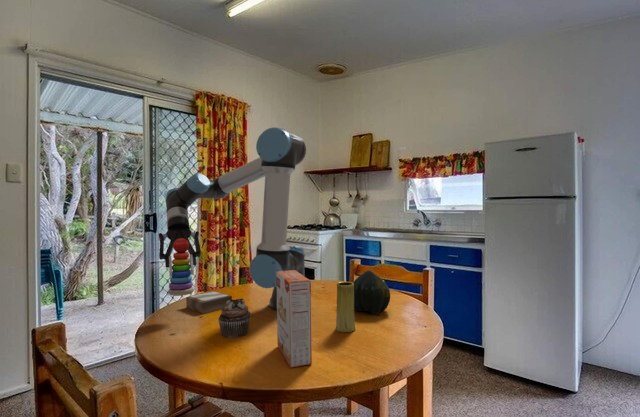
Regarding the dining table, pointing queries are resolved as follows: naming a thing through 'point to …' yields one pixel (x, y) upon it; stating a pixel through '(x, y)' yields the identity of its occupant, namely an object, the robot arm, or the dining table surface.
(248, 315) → the cupcake
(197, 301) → the plinth
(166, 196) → the robot arm
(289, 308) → the cracker box
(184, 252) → the stacking toy
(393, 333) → the dining table surface
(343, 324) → the vase
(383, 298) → the squash
